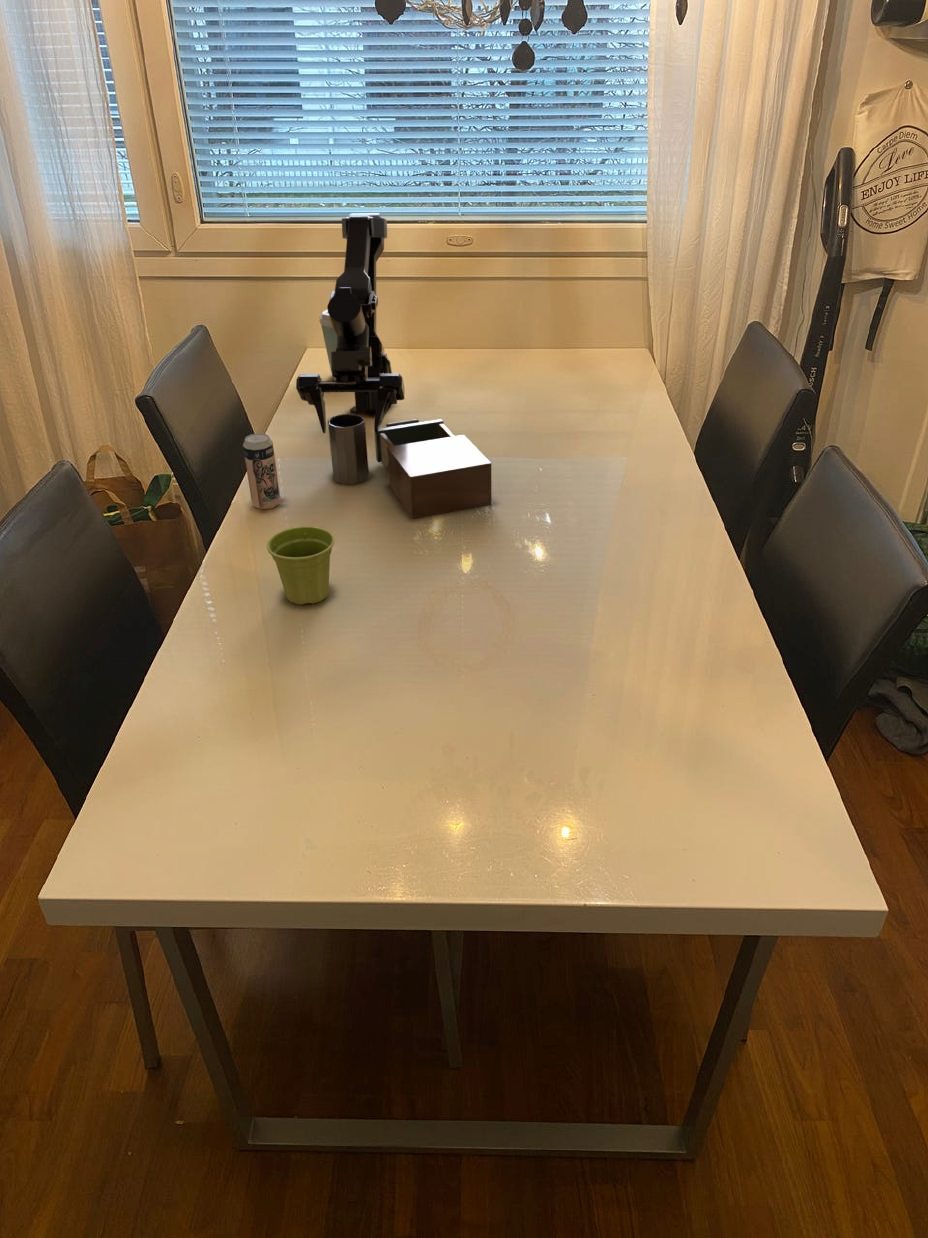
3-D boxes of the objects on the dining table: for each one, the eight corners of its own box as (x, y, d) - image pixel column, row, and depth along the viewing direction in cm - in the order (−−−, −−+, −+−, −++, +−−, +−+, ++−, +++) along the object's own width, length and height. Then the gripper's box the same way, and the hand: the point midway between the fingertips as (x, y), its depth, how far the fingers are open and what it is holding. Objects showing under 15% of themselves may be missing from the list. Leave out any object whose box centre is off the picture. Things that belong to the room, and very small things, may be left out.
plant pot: (260, 600, 137) (252, 546, 133) (304, 571, 144) (298, 519, 139) (310, 619, 133) (303, 564, 128) (353, 589, 139) (348, 536, 135)
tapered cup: (354, 466, 175) (349, 411, 169) (375, 476, 171) (371, 420, 165) (326, 476, 172) (320, 420, 166) (348, 487, 168) (342, 430, 162)
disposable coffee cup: (328, 370, 219) (322, 303, 211) (375, 369, 219) (370, 303, 211) (320, 386, 211) (314, 317, 202) (369, 386, 210) (364, 317, 202)
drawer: (370, 451, 179) (367, 420, 175) (435, 441, 182) (433, 410, 179) (395, 487, 166) (393, 454, 163) (465, 474, 169) (464, 443, 166)
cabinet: (389, 486, 168) (386, 446, 164) (464, 473, 172) (463, 434, 168) (412, 518, 157) (410, 476, 153) (491, 504, 161) (491, 462, 157)
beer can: (265, 513, 160) (256, 446, 153) (246, 505, 162) (235, 439, 156) (286, 502, 163) (278, 436, 157) (267, 495, 166) (257, 430, 159)
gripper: (291, 329, 165) (287, 414, 162) (399, 327, 165) (397, 413, 162) (304, 358, 176) (300, 439, 173) (405, 357, 175) (403, 438, 172)
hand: (349, 432), depth 170 cm, fingers open, 9 cm apart
